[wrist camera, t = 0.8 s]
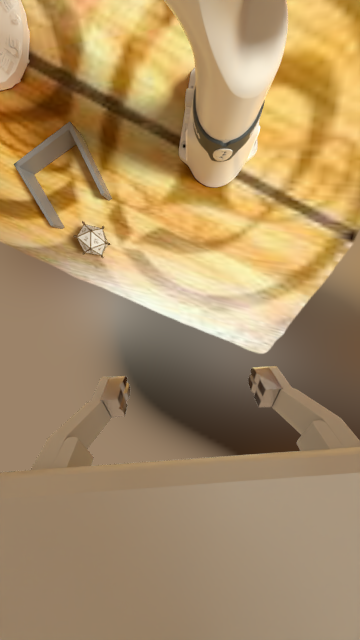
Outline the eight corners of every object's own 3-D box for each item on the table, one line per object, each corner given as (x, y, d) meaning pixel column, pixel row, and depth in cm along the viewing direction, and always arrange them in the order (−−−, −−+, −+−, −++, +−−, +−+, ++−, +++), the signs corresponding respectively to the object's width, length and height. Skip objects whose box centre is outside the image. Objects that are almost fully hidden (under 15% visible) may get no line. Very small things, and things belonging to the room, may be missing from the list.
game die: (111, 248, 53) (108, 267, 47) (81, 242, 50) (74, 262, 44) (111, 219, 46) (107, 238, 40) (77, 210, 43) (67, 229, 38)
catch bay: (111, 198, 45) (104, 192, 41) (61, 228, 49) (50, 226, 45) (81, 134, 41) (69, 121, 37) (28, 172, 44) (13, 164, 41)
